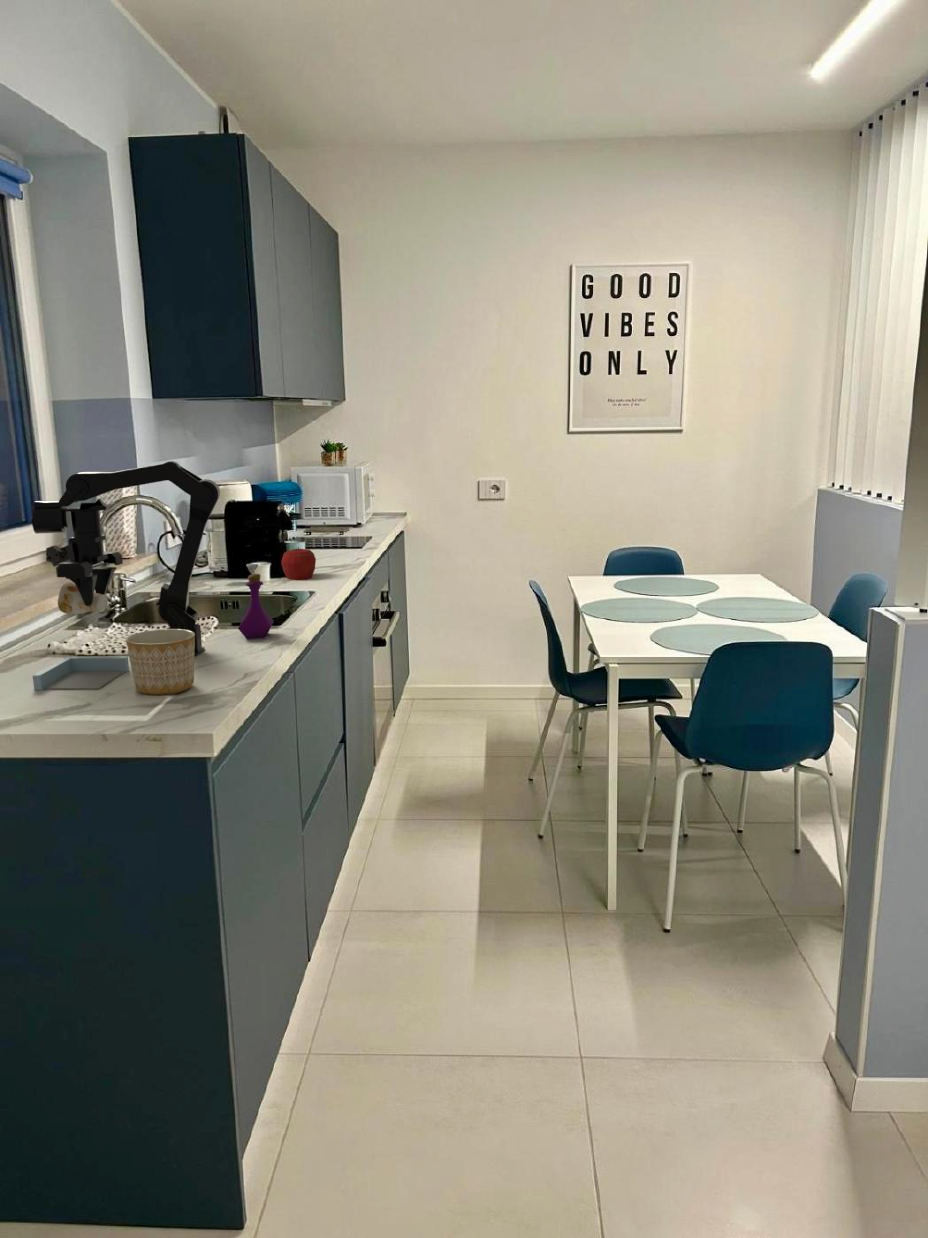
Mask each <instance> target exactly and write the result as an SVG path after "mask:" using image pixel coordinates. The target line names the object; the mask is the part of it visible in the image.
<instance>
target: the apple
mask: <svg viewBox="0 0 928 1238" xmlns="http://www.w3.org/2000/svg"><path fill="white" fill-rule="evenodd" d="M316 561H317V559H316V556H315V553H314V552H313V551H312V550H310V549H307V548H300V547H299V546H297V548H293V549H290V550H287V551H285V552H284V553H283V554H282V558H281V567H282V571H283V573H284V575H285V576H286V579H288V580H289V581H304V580H309V579H312V577H313V575H314V573H315V570H316Z"/></svg>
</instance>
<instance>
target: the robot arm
mask: <svg viewBox="0 0 928 1238" xmlns="http://www.w3.org/2000/svg"><path fill="white" fill-rule="evenodd" d="M165 481H169V482H171V483H172V484H173V485H174V486H176V487H178V488H179V489H180V490H182V491H183V492H184V493H186V494H188V495H189V496H190V499H189V510H188V511H189V514H188V515H189V516H188V523H187V526H186V530H185V533H184V535H183V536H184V537H183V540H182V544H181V548H180V551H179V554H178V558H177V562H176V565H175V569H174V572H173V576H172V579H171V580H170V583H169V584H168V583H166V582H164V583H163V584H162V586H161V587H160V593H159V599H158V600H157V602H156V604H155V606H158V609H157V612H158V615H159V616H160V618H161V619H162V620H163V621H165V623H168V625H169V626H168V628H167V629H183V630H189V631H192V632H194V633H195V650H194V657H196V656H199V655H200V653H202V652H203V651H204V650H205V649H206V648H205V646H203V644H202V628H201V624H197V621H198V618H199V614H200V613H199V611H197V610H196V609H194V608H193V607H192V606H190V605H189V600H190V586H191V578H192V575H193V572H194V567H195V564H196V560H197V558H198V554H199V551H200V547H201V543H202V540H203V536H204V533H205V529H206V526H207V523H208V520H209V518H210V516H211V514H212V513H213V511H214V508H215V506H216V504H217V502H218V501H219V499H220V496H221V489H220V487H219V485H218V484H217V483H216V482H215V481H213V480H211V479H207V478H206V479H202V478H201V477H200V476H198V475H196V474H195V473H193V472H191V471H189V470H188V469H186V468H184V467H183V466H181V465H180V464H179V463H178V462H176V461H174V460H169V461H165V462H164V463H158V464H153V465H147V466H140V467H136V468H135V467H134V468H130V469H129V468H128V469H124V470H118V471H114V472H113V471H111V472H109V471H82V472H77V473H74V474H72V475H71V476H69V477H68V478H67V479H66V483H65V492H64V493H63V494H62V495H61V497H60V499H59V501H44V500H36V501H34V502H32V504H33V505H32V506H33V508H32V514H31V515H32V517H31V525H32V529H33V531H34V534H37V535H38V534H60V533H61V534H62V533H65V532H66V529H67V528H68V529H69V528H70V526H71V528H72V529H71V530H72V537H69V538H68V541H67V542H68V544H67V545H65V546H62V547H59V546H58V545H56V544H55V545H51V546H49V547H48V546H47V547H46V548H45V555H46V556H45V560H46V561H47V562H49V563H51V565H52V566H53V568H54V567H55V575H56V578H65V579H67V580H69V581H70V582H74V583H75V585H76V586H77V588H78V590H79V592H80V595H81V597H82V599H83V601H84V603H85V605H86V606H91V604H92V600H93V595H94V592H95V593H98V594H103V595H105V596H106V593H107V591H108V588H109V587H110V583H111V581H112V578H113V576H114V574H115V572H116V571H117V567H114V566H111V564H112V565H113V564H114V565H115V566H119V565H123V563H124V562H123V555H122V554H121V553H120V552H119V551H118V550H117V551H115V550H114V551H104V544H103V542H104V541H106V540H107V535H106V534H103V533H102V525H101V524H102V522H101V514H100V513H101V512H100V511H106V510H109V509H110V506H109V505H108V504H107V503H105V502H104V501H103V500H102V498H98V499H96V501H95V502H84V501H87V500H90V499H92V498H96V497H98V496H101V495H103V494H107V493H109V492H112V491H114V490H119V489H126V488H131V487H136V486H137V487H138V486H143V485H149V484H153V483H154V484H155V483H159V482H165ZM78 502H81V503H80V505H79V507H70V506H73V505H74V504H77V503H78ZM205 651H206V650H205Z"/></svg>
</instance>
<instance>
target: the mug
mask: <svg viewBox="0 0 928 1238" xmlns="http://www.w3.org/2000/svg"><path fill="white" fill-rule="evenodd" d="M108 604H109V600H108V598H107V596H106V594H105V595H103V594H98V593H96V592H95V591H94V595H93V600H92V604H91V606H86V605H85V603H84V601H83V599H82V597H81V595H80V592H79V590H78V588H77V586H76V585H75V583H74V582H72V581H68V582H65V583H64V584H62V585H61V587H60V590H59V594H58V599H57V606H58V609H59V611H60V612H62V613H64V614H67V615H80V614H84V613H88V612H96V613H102V612H103V611H105V610H110V609H111V606H110V605H108Z"/></svg>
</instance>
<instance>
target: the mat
mask: <svg viewBox="0 0 928 1238" xmlns="http://www.w3.org/2000/svg"><path fill="white" fill-rule="evenodd" d="M124 673H125V672H124V671H74V672H72V673H70V674H68V675H67V676H65V677H63V678H62V679H60V680H58V681H57V682H55V683H53V684H51V685H50V686H48V687H46V688H45V690H46V691H48V690H49V691H50V690H52V691H53V690H54V691H55V690H56V691H57V690H62V691H63V690H64V691H65V690H68V691H69V690H72V691H73V690H75V691H77V690H82V691H83V690H86V691H87V690H88V691H89V690H90V691H91V690H93V691H94V690H97V691H99V690H100V689H102V688H103V687H105V686H107V685H108V684H110V683H111V682H112V681H114V680H115V679H117V678H118V677H120V676H121V675H123V674H124Z"/></svg>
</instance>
